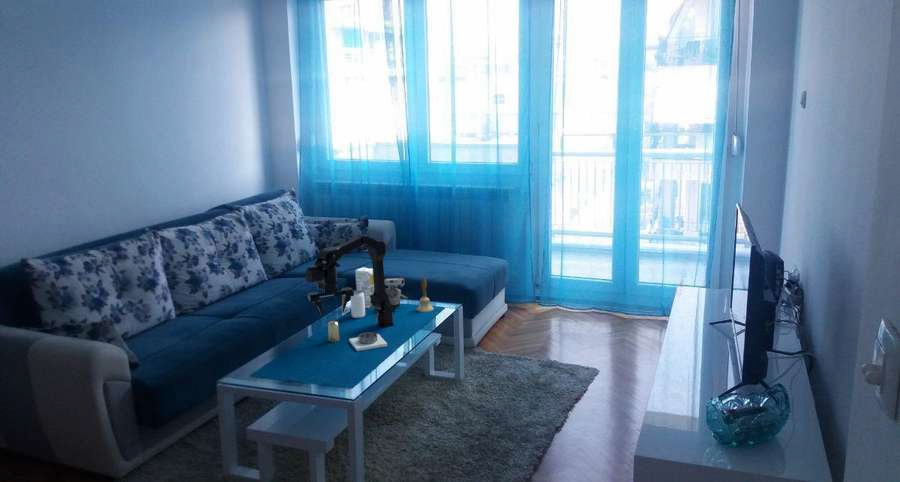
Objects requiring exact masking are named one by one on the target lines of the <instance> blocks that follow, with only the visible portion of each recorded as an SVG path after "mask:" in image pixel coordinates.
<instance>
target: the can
mask: <svg viewBox="0 0 900 482" xmlns="http://www.w3.org/2000/svg"><path fill="white" fill-rule="evenodd" d="M353 291H354V296H351V298H350V299H349V300H350V311H351V312H350V313H351V317H352V318H353V319H361V318H364V317H365V316H366V308H365V302H364V294H363V291H361V290H357V289H356V290H353Z"/></svg>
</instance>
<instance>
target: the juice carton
mask: <svg viewBox="0 0 900 482" xmlns="http://www.w3.org/2000/svg"><path fill="white" fill-rule="evenodd" d="M355 286H356V290H361V291H363V294H364V302H365V309H370V308H374V307H373V306H372V304H371V303H370V302H371V299H370V295H373V293H374V280H373V268H369V267H364V266H363V267H360V268H357V269H355Z"/></svg>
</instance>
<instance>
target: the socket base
mask: <svg viewBox="0 0 900 482" xmlns="http://www.w3.org/2000/svg"><path fill="white" fill-rule="evenodd" d="M376 335H377V340H378V341H377V342H375V343H373V344H360V343H359V342H358V336H357V337H352V338H351V337H350V338H349V339H348V342H349V344H351V346H352V347H353V348H354V349H355V350H356V351H357V352H361V351H367V350H371V349H373V350H374V349H378V348H385V347H388V342H387V341H385V339H384V338H383V337H382V336H381V335H380V334H379V333H376Z"/></svg>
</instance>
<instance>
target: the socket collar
mask: <svg viewBox="0 0 900 482" xmlns="http://www.w3.org/2000/svg"><path fill="white" fill-rule="evenodd" d="M376 334H377V333H376V332H369V331H368V332H362V333H360V334H359V335H357V337H358V342H359V343H360V344H373V343H375V342H377V341H378V340H377V335H376Z"/></svg>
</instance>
